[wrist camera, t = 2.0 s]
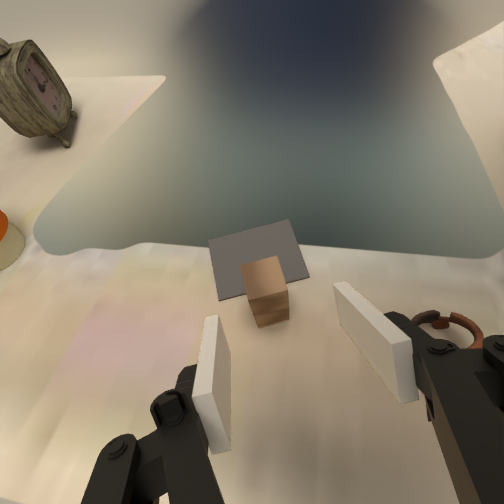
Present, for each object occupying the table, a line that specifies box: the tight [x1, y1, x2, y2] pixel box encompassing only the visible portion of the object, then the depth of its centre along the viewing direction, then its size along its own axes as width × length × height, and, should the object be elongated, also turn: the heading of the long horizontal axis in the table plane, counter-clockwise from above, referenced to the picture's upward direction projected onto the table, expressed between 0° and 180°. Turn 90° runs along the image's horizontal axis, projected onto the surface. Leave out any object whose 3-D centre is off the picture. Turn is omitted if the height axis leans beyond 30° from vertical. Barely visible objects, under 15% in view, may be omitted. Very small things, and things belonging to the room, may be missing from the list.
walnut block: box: [240, 256, 289, 328], centre depth 39 cm, size 4×4×11 cm
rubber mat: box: [208, 219, 310, 301], centre depth 48 cm, size 14×11×1 cm
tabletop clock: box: [0, 38, 77, 147], centre depth 61 cm, size 14×9×25 cm, turn 9°
